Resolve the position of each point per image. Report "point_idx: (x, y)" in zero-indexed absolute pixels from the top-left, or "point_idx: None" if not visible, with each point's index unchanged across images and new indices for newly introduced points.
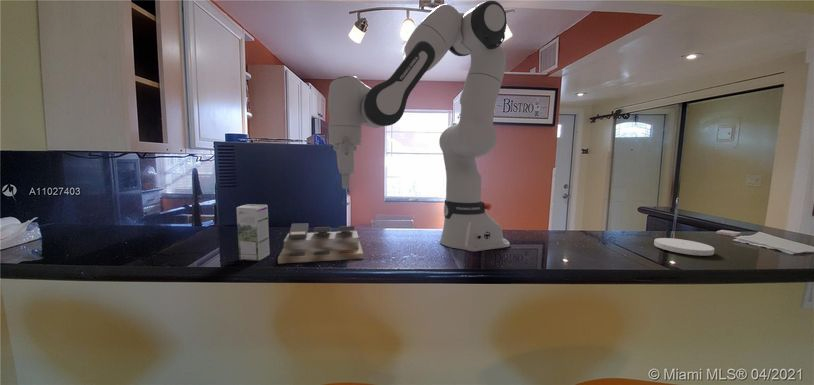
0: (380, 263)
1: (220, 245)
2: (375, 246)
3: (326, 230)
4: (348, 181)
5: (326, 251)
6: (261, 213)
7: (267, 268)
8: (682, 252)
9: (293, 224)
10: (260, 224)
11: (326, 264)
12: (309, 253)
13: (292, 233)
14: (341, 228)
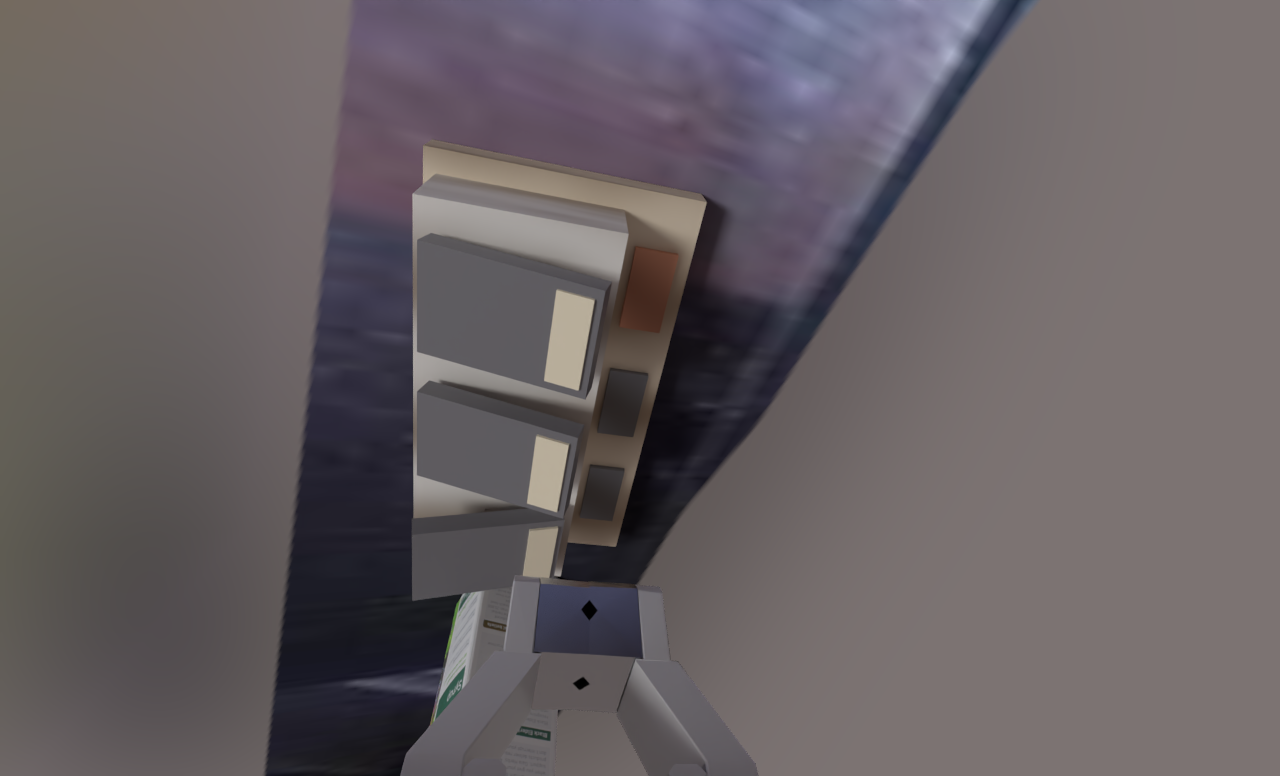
0: (828, 119)
1: (315, 684)
2: (466, 15)
3: (579, 447)
4: (684, 679)
5: (613, 385)
6: (513, 767)
7: (653, 552)
8: None
9: (425, 592)
10: (532, 713)
11: (705, 379)
12: (599, 449)
13: (540, 573)
14: (591, 370)
